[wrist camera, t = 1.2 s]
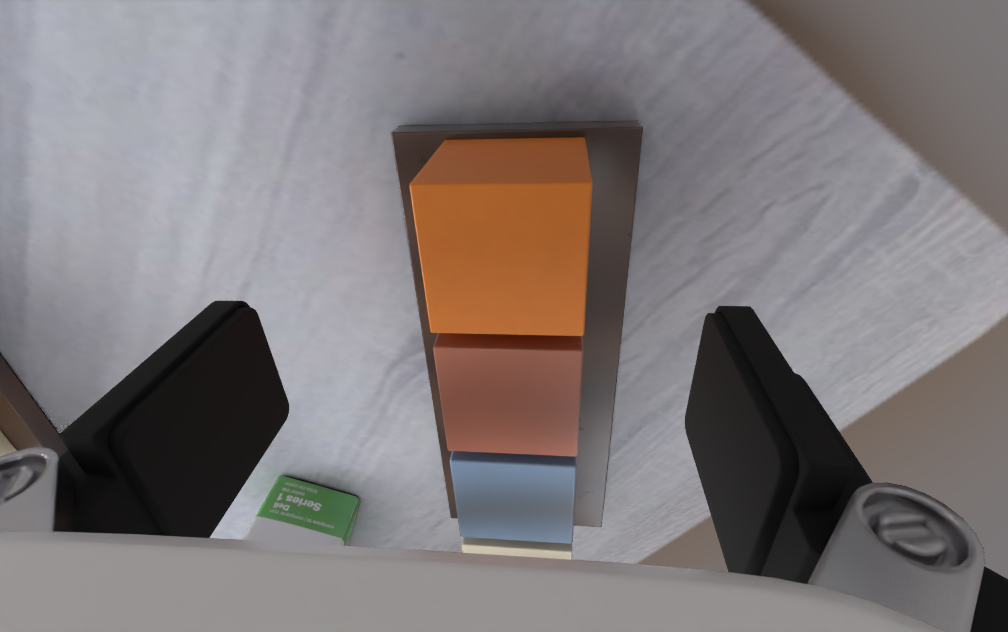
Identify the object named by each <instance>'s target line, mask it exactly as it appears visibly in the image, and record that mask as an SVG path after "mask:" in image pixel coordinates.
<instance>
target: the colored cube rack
mask: <svg viewBox="0 0 1008 632" xmlns="http://www.w3.org/2000/svg"><path fill="white" fill-rule="evenodd" d="M642 133H643V127H642V126H641V124H640V122H639V121H602V122H556V123H511V124H465V125H419V126H399V127H397V128H396V129H395V130H394V131H393V132H391V137H392V143H393V150H394V156H395V163H396V169H397V175H398V182H399V188H400V195H401V201H402V207H403V214H404V220H405V227H406V233H407V239H408V246H409V252H410V259H411V265H412V271H413V278H414V284H415V290H416V297H417V303H418V310H419V316H420V322H421V329H422V335H423V342H424V348H425V354H426V361H427V367H428V374H429V380H430V386H431V393H432V399H433V406H434V412H435V418H436V425H437V431H438V438H439V444H440V450H441V457H442V463H443V469H444V476H445V482H446V489H447V495H448V501H449V508H450V514H451V518H458V522H459V529H460V535H461V536H462V537H463V539H462V551H463V553H475V554H490V555H506V556H521V557H537V558H552V559H568V560H572V542H573V526H574V525H575V526H592V527H601V526H602V517H603V507H604V498H605V488H606V479H607V469H608V459H609V450H610V440H611V431H612V421H613V411H614V402H615V392H616V383H617V373H618V363H619V354H620V344H621V335H622V325H623V315H624V306H625V296H626V286H627V277H628V267H629V258H630V248H631V238H632V229H633V219H634V210H635V200H636V190H637V181H638V171H639V162H640V152H641V142H642ZM573 137H584V138H585V141H586V147H587V153H588V159H589V166H590V172H591V178H592V201H591V219H590V237H589V255H588V273H587V292H586V310H585V328H584V335H583V336H555V335H509V334H464V333H432V332H431V331H430V324H429V317H428V310H427V303H426V296H425V289H424V282H423V276H422V269H421V262H420V255H419V248H418V241H417V234H416V227H415V220H414V214H413V207H412V200H411V193H410V183H411V182H412V181H413V179H414V178H415V177H416V176H417V174H418V173H419V172H420V171H421V169H422V168H423V167H424V166H425V164H426V163H427V162H428V161H429V159H430V158H431V157H432V156H433V154H434V153H435V152H436V150H437V149H438V148H439V147H440V145H441V144H442V143H443V142H444V140H466V139H519V138H573Z"/></svg>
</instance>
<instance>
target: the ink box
mask: <svg viewBox="0 0 1008 632" xmlns="http://www.w3.org/2000/svg"><path fill="white" fill-rule="evenodd" d="M359 505H360V500H359V499H358V498H357V497H356V496H352V495H349V494H345V493H342V492H338V491H335V490H331V489H328V488H325V487H321V486H318V485H314V484H311V483H307V482H303V481H300V480H296V479H292V478H288V477H285V476H279V477H278V479H277V480H276V482H275V484H274V486H273V487H272V489H271V491H270V493H269V494H268V496H267V498H266V500H265V501H264V503H263V505H262V506H261V508H260V510H259V512H258V514H257V515H256V517H255V519H254V520H253V522H252V524H251V526H250V527H249V529H248V531H247V533H246V534H245V536H244V538H243V540H253V541H272V542H290V543H307V544H324V545H342V546H348V543H349V540H350V536H351V533H352V529H353V526H354V522H355V519H356V515H357V512H358V508H359Z"/></svg>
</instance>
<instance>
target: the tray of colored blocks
mask: <svg viewBox="0 0 1008 632" xmlns="http://www.w3.org/2000/svg"><path fill="white" fill-rule="evenodd" d="M35 447H42V448H50V449H51V450H53V451H54V452H56V453H57V454H58V456H59V457H61V456H62V455H63V454H64V453H65V452H66V451H67V450H68V449H67V447H66V446H65V444H64V443H63V441H62V440H61V438H60V437H59V436H58V433H57V432H56V430H55V429H54V428H53V426H52V425H51V424H50V422H49V421H48V419H47V418H46V417H45V415H44V414H43V413H42V411H41V410H40V408H39V407H38V406H37V404H36V403H35V402H34V400H33V399H32V397H31V396H30V395H29V393H28V392H27V391H26V389H25V388H24V386H23V385H22V384H21V382H20V381H19V380H18V378H17V377H16V375H15V374H14V373H13V371H12V370H11V369H10V367H9V366H8V364H7V363H6V362H5V360H4V359H3V358H2V356H1V355H0V456H3V455H5V454H8V453H11V452H15V451H18V450H22V449H27V448H35Z"/></svg>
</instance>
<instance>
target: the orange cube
mask: <svg viewBox="0 0 1008 632" xmlns="http://www.w3.org/2000/svg"><path fill="white" fill-rule="evenodd" d="M410 193H411V200H412V207H413V214H414V220H415V227H416V234H417V241H418V248H419V255H420V262H421V269H422V276H423V282H424V289H425V296H426V303H427V310H428V317H429V324H430V331H431V332H432V333H464V334H509V335H555V336H583V335H584V328H585V310H586V292H587V273H588V255H589V237H590V219H591V201H592V178H591V172H590V166H589V159H588V153H587V147H586V141H585V138H584V137H573V138H519V139H466V140H444V142H443V143H442V144H441V145H440V147H439V148H438V149H437V150H436V152H435V153H434V154H433V156H432V157H431V158H430V159H429V161H428V162H427V163H426V164H425V166H424V167H423V168H422V169H421V171H420V172H419V173H418V174H417V176H416V177H415V178H414V179H413V181H412V182H411V183H410Z"/></svg>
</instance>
